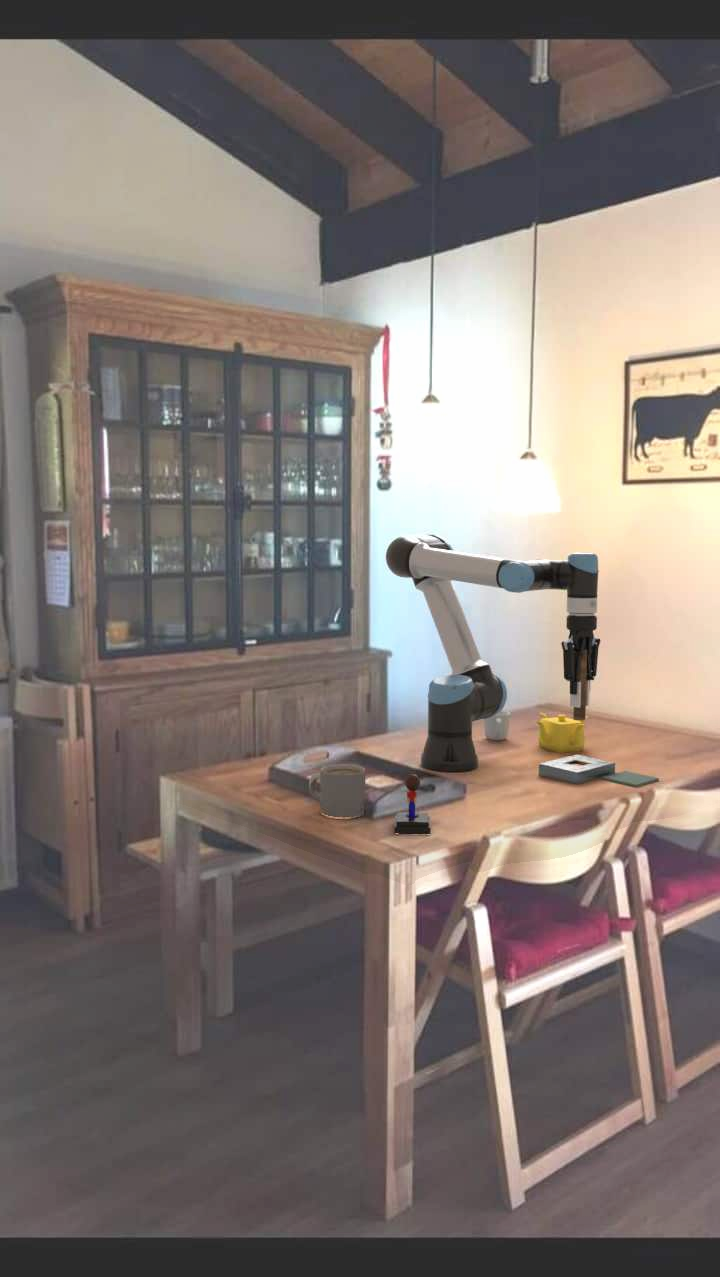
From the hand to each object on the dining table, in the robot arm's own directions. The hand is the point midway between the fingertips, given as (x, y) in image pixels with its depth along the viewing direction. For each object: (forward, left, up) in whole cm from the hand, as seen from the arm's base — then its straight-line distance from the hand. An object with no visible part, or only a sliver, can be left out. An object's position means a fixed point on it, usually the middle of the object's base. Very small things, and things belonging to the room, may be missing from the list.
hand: (579, 705), depth 265 cm
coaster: (+6, -12, -18) cm, 22 cm away
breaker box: (0, 0, -18) cm, 18 cm away
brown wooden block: (0, 0, -4) cm, 4 cm away
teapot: (+22, +22, -18) cm, 36 cm away
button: (0, 0, -16) cm, 16 cm away
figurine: (-65, -6, -18) cm, 68 cm away
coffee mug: (-69, +14, -18) cm, 73 cm away
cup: (+16, +41, -18) cm, 48 cm away
